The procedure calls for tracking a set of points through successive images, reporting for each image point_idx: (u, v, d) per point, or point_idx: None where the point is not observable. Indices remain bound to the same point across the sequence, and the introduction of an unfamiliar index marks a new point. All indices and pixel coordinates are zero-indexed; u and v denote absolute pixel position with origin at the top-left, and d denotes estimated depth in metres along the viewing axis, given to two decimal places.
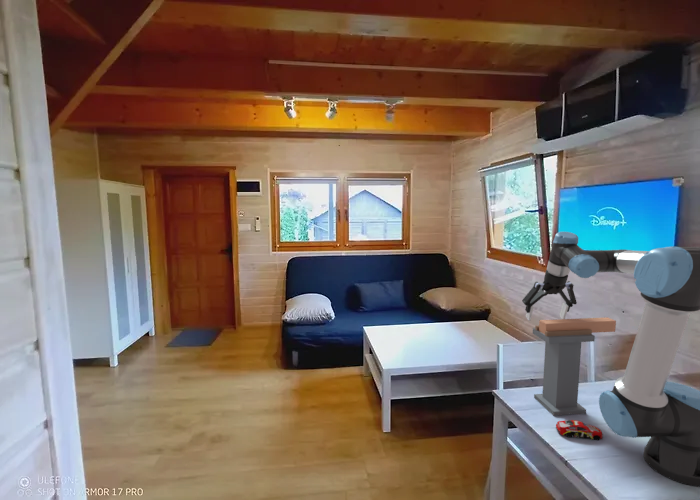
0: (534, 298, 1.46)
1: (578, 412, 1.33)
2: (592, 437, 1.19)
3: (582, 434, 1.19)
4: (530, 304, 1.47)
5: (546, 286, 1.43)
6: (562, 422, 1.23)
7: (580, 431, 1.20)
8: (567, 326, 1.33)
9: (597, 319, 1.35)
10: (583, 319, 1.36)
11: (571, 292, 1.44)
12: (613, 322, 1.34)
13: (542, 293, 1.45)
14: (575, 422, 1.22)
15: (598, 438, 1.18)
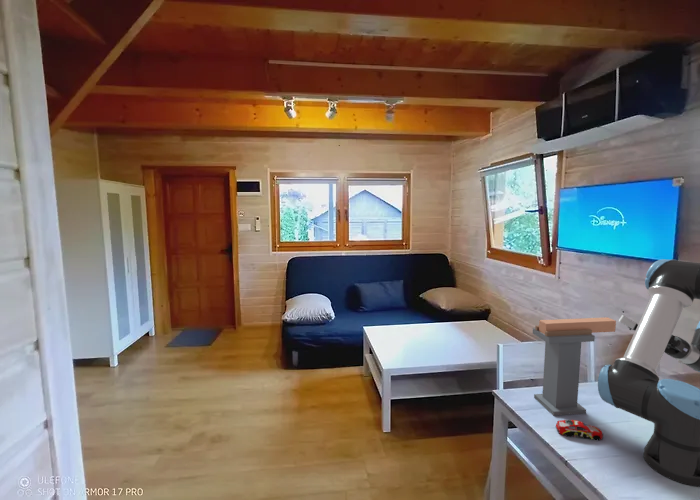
0: None
1: (578, 412, 1.33)
2: (592, 437, 1.19)
3: (582, 434, 1.19)
4: None
5: None
6: (562, 421, 1.24)
7: (580, 431, 1.20)
8: (567, 326, 1.33)
9: (597, 319, 1.35)
10: (583, 319, 1.36)
11: None
12: (613, 322, 1.34)
13: None
14: (575, 422, 1.22)
15: (598, 438, 1.18)
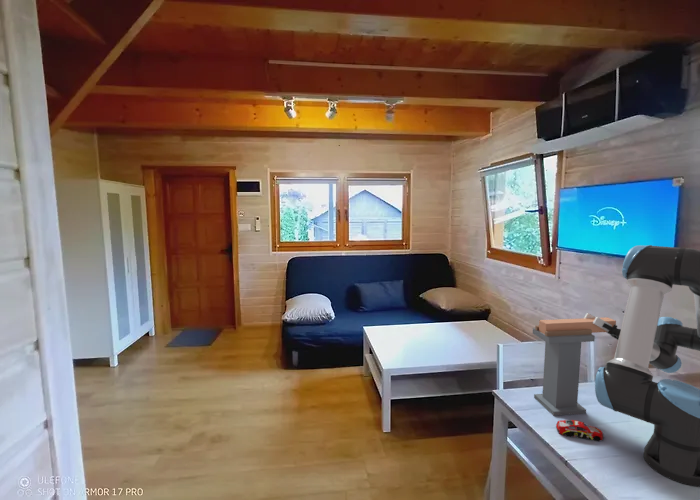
0: None
1: (578, 412, 1.33)
2: (592, 438, 1.19)
3: (582, 434, 1.19)
4: None
5: None
6: (562, 421, 1.24)
7: (580, 431, 1.20)
8: (567, 326, 1.33)
9: None
10: (583, 319, 1.36)
11: None
12: (613, 322, 1.34)
13: None
14: (575, 422, 1.22)
15: (598, 439, 1.18)
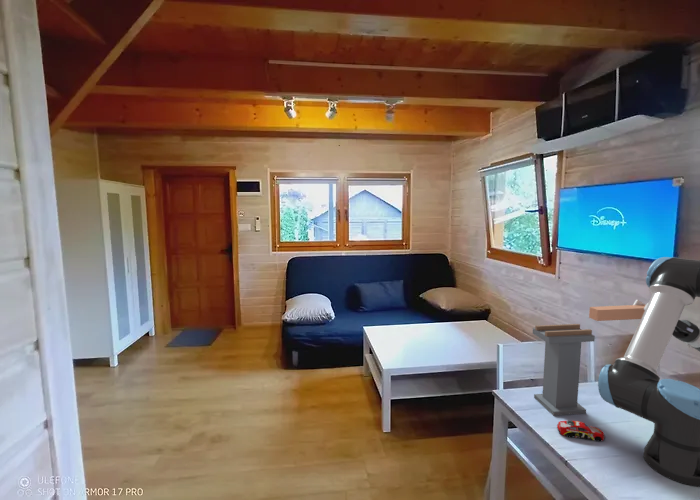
0: None
1: (578, 412, 1.33)
2: (593, 438, 1.18)
3: (583, 435, 1.19)
4: None
5: None
6: (563, 422, 1.23)
7: (581, 432, 1.19)
8: (619, 313, 1.34)
9: None
10: (633, 305, 1.37)
11: None
12: None
13: None
14: (576, 423, 1.22)
15: (599, 439, 1.18)
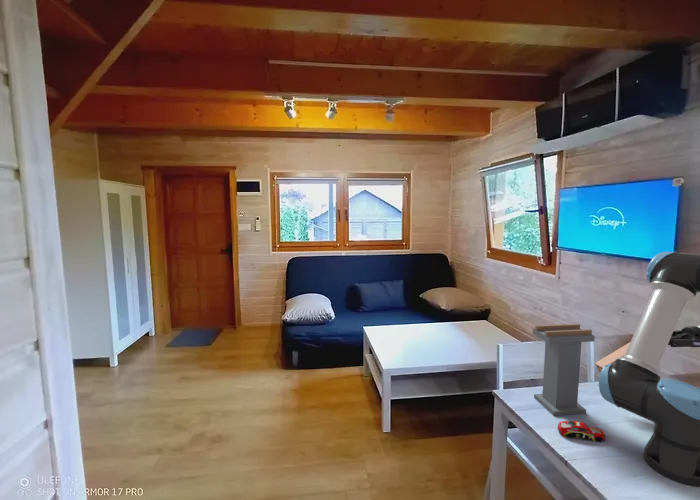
0: None
1: (578, 412, 1.33)
2: (594, 439, 1.18)
3: (584, 435, 1.19)
4: None
5: None
6: (564, 423, 1.23)
7: (582, 432, 1.19)
8: None
9: None
10: None
11: (687, 339, 1.34)
12: None
13: None
14: (577, 423, 1.21)
15: (600, 440, 1.18)
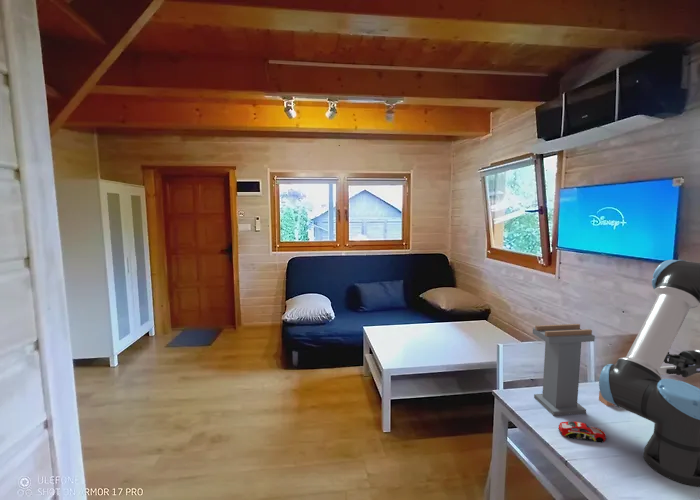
0: None
1: (578, 412, 1.33)
2: (595, 439, 1.18)
3: (584, 436, 1.19)
4: None
5: None
6: (565, 423, 1.23)
7: (582, 433, 1.19)
8: None
9: None
10: None
11: (692, 366, 1.34)
12: None
13: None
14: (578, 423, 1.21)
15: (601, 440, 1.17)
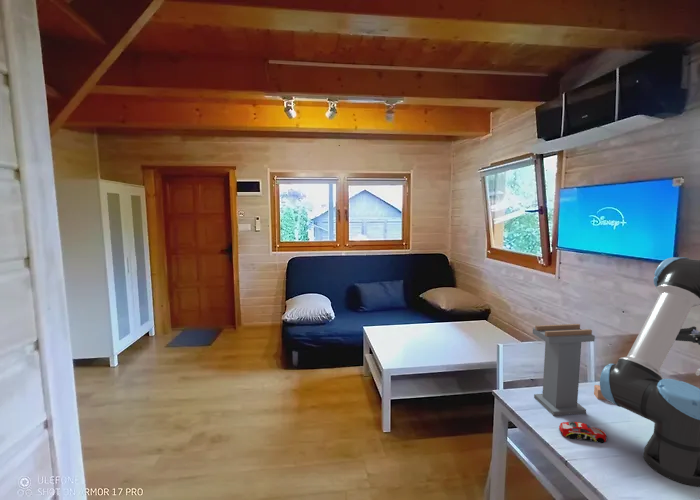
0: None
1: (578, 412, 1.33)
2: (595, 439, 1.18)
3: (585, 436, 1.18)
4: None
5: None
6: (565, 423, 1.22)
7: (583, 433, 1.18)
8: None
9: None
10: None
11: None
12: None
13: None
14: (579, 424, 1.21)
15: (602, 441, 1.17)
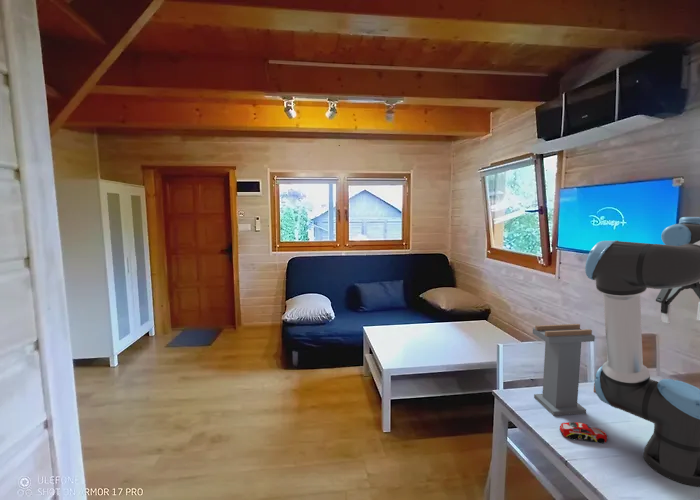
0: (670, 295, 1.31)
1: (578, 412, 1.33)
2: (596, 440, 1.17)
3: (586, 436, 1.18)
4: (667, 302, 1.30)
5: None
6: (566, 424, 1.22)
7: (584, 433, 1.18)
8: None
9: None
10: None
11: None
12: None
13: (678, 288, 1.30)
14: (579, 424, 1.21)
15: (602, 441, 1.17)
